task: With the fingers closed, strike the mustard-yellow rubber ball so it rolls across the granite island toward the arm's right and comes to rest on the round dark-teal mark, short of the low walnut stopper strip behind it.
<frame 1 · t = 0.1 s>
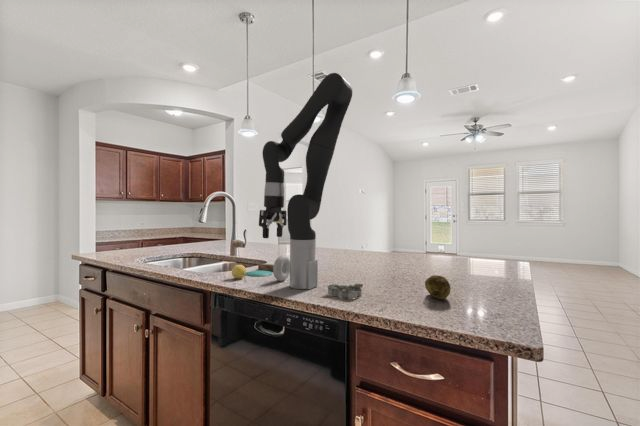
hand: (272, 237, 118), 17 cm above the worktop, tool pointing down, fingers open, 8 cm apart
donut: (282, 281, 121), on the worktop
dark green oval lump: (437, 299, 97), on the worktop
ball: (238, 271, 124), on the worktop
egg carton: (344, 296, 100), on the worktop
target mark: (258, 273, 134), on the worktop
stopper strip: (271, 270, 142), on the worktop
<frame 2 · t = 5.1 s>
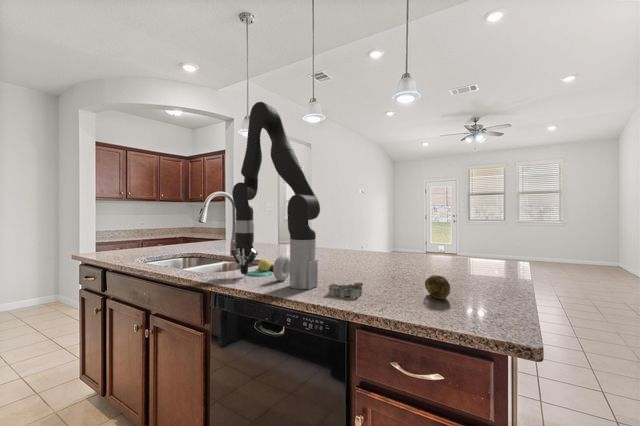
hand: (244, 273, 126), 1 cm above the worktop, tool pointing down, fingers closed
ball: (264, 265, 139), on the worktop
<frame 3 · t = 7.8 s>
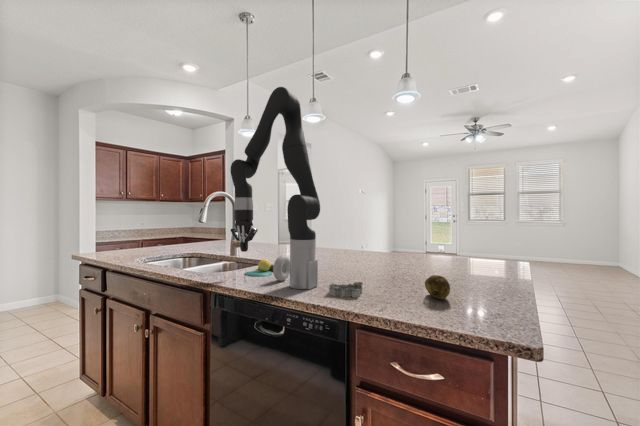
hand: (244, 251, 126), 11 cm above the worktop, tool pointing down, fingers closed
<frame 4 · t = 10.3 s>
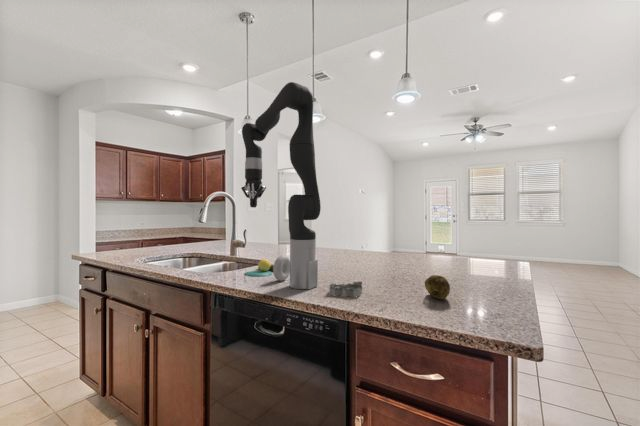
hand: (253, 207, 138), 29 cm above the worktop, tool pointing down, fingers closed
at the end: ball 5.3 cm from the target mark (horizontally); ball at rest at the end (0.0 cm/s); ball moved 17.2 cm from its start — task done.
